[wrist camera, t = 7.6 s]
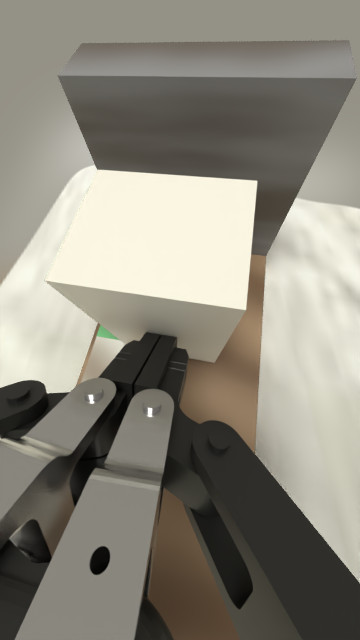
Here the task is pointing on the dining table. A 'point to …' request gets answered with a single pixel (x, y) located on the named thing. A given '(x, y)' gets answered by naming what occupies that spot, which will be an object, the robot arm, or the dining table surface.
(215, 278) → the block
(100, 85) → the base
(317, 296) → the dining table surface
